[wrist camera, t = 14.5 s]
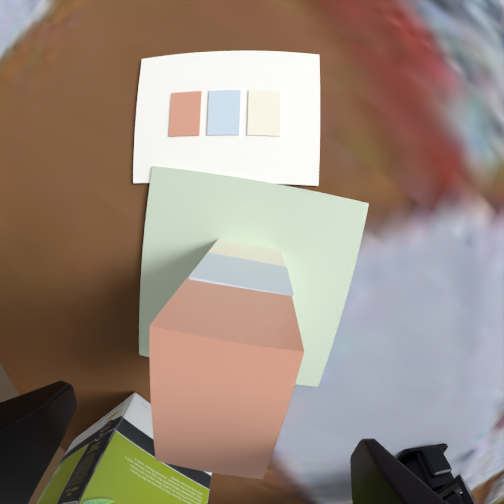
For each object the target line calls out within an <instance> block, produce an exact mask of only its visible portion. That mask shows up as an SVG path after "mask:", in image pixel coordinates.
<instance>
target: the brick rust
mask: <svg viewBox="0 0 504 504" xmlns="http://www.w3.org/2000/svg"><path fill="white" fill-rule="evenodd" d="M303 355H304V348H303V343H302V339H301V334H300V330H299V325H298V321H297V317H296V312H295V308H294V303H293V299H292V296H290V295H283V294H276V293H270V292H263V291H257V290H251V289H244V288H238V287H232V286H226V285H220V284H214V283H208V282H202V281H197V280H191V279H186V280H185V281H184V282H183V283H182V285H181V286H180V287H179V288H178V290H177V291H176V292H175V293H174V295H173V296H172V297H171V299H170V300H169V301H168V302H167V304H166V305H165V306H164V308H163V309H162V310H161V311H160V313H159V314H158V315H157V317H156V318H155V319H154V320H153V322H152V323H151V324H150V328H149V356H150V392H151V411H152V426H153V438H154V449H155V459H156V461H160V462H164V463H168V464H172V465H176V466H181V467H185V468H190V469H195V470H200V471H205V472H211V473H217V474H223V475H230V476H238V477H246V478H256V479H263V478H264V476H265V473H266V470H267V468H268V465H269V462H270V459H271V457H272V454H273V451H274V448H275V445H276V442H277V439H278V436H279V433H280V430H281V427H282V424H283V421H284V418H285V415H286V412H287V409H288V406H289V403H290V399H291V396H292V393H293V390H294V386H295V383H296V379H297V376H298V373H299V369H300V366H301V362H302V358H303Z"/></svg>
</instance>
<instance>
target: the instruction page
mask: <svg viewBox="0 0 504 504" xmlns="http://www.w3.org/2000/svg"><path fill="white" fill-rule="evenodd" d="M319 156H320V62H319V55H317V54H307V53H294V52H278V51H215V52H198V53H186V54H176V55H168V56H160V57H152V58H146V59H142V62H141V69H140V77H139V86H138V96H137V107H136V120H135V136H134V160H133V183H150V179H151V173H152V166H158V167H167V168H175V169H183V170H191V171H198V172H205V173H212V174H219V175H226V176H232V177H239V178H245V179H251V180H257V181H263V182H268V183H274V184H292V185H309V186H318V185H319Z"/></svg>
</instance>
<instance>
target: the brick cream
mask: <svg viewBox="0 0 504 504" xmlns="http://www.w3.org/2000/svg"><path fill="white" fill-rule="evenodd" d="M208 253H213V254H219V255H224V256H230V257H235V258H241V259H246V260H252V261H257V262H263V263H268V264H274V265H280V266H285V264H284V260H283V255H282V251H281V250H277V249H271V248H266V247H260V246H254V245H249V244H243V243H237V242H231V241H226V240H220V239H218V240H217V241H216V243H215V244H214V245H213V246H212V248H211V249H210V250H209V251H208Z"/></svg>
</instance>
